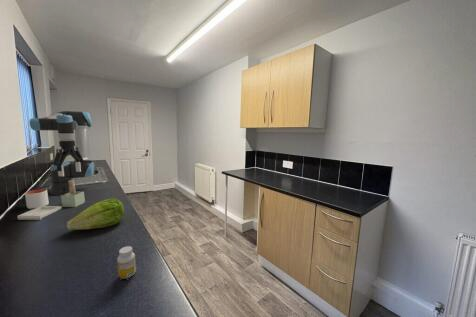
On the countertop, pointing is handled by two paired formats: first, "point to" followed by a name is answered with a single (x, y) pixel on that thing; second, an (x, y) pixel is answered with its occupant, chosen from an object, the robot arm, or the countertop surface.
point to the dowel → (72, 187)
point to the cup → (36, 198)
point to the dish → (39, 213)
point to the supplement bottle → (126, 262)
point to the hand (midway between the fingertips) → (70, 173)
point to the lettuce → (98, 215)
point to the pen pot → (72, 199)
